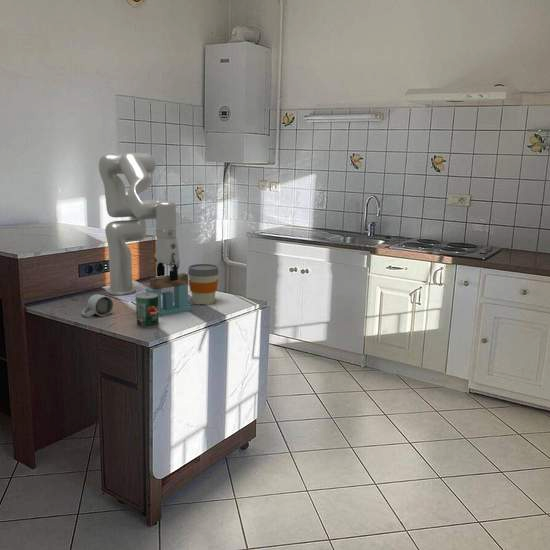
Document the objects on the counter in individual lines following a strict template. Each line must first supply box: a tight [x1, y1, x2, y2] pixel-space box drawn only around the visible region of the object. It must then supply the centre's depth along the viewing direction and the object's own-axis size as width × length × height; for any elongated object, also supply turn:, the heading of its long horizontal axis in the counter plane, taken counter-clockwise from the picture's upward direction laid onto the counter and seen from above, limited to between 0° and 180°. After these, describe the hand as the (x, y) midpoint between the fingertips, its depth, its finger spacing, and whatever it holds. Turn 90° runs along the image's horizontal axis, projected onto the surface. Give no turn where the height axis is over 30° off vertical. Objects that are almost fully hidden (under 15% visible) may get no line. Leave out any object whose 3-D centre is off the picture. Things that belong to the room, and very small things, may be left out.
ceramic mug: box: [81, 293, 114, 318], centre depth 214 cm, size 11×8×8 cm
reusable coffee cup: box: [187, 263, 219, 306], centre depth 234 cm, size 12×13×15 cm
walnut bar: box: [149, 272, 189, 290], centre depth 217 cm, size 15×3×4 cm, turn 131°
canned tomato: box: [135, 292, 160, 328], centre depth 203 cm, size 8×8×11 cm
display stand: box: [145, 284, 193, 317], centre depth 218 cm, size 6×18×10 cm, turn 131°
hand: (167, 278), depth 216 cm, fingers open, 9 cm apart
